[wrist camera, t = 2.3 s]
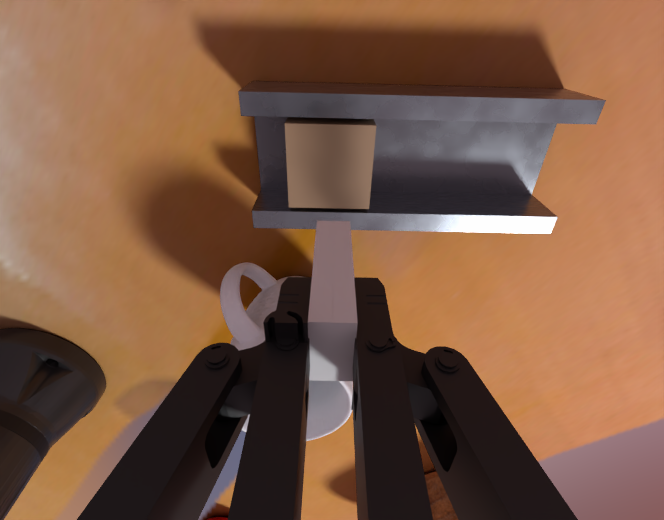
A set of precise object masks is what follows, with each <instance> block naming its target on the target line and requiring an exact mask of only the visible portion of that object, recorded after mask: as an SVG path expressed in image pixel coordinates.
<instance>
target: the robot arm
mask: <svg viewBox="0 0 664 520" xmlns="http://www.w3.org/2000/svg"><path fill="white" fill-rule="evenodd" d="M263 324H264V333H265V341H264V342H263V343H261V344H259V345H257V346H255V347H252V348H248V349H244V350H238V349H237V348H236V347H235V346H234V345H231V344H229V343H216V344H212V345H210V346H208V347H206V348H204V349H203V350H202V351H201V352H200V353H199V354H198V355H197V356H196V357H195V359H194V360H193V361H192V363H191V364H190V365H189V367H188V368H187V370H186V371H185V372H184V374H183V375H182V376H181V378H180V379H179V380H178V382H177V383H176V385H175V386H174V387H173V389H172V390H171V391H170V393H169V394H168V396H167V397H166V398H165V400H164V401H163V402H162V404H161V405H160V406H159V408H158V409H157V411H156V412H155V413H154V415H153V416H152V418H151V419H150V420H149V422H148V423H147V424H146V426H145V427H144V429H143V430H142V431H141V432H140V434H139V435H138V437H137V438H136V439H135V441H134V442H133V444H132V445H131V446H130V448H129V449H128V450H127V452H126V453H125V454H124V456H123V457H122V459H121V460H120V461H119V463H118V464H117V465H116V467H115V468H114V470H113V471H112V472H111V474H110V475H109V477H108V478H107V479H106V480H105V482H104V483H103V485H102V486H101V487H100V489H99V490H98V491H97V493H96V494H95V496H94V497H93V498H92V500H91V501H90V502H89V504H88V505H87V506H86V508H85V509H84V511H83V512H82V513H81V515H80V516H79V517H78V519H77V520H198V518H199V516H200V514H201V512H202V510H203V508H204V506H205V504H206V502H207V500H208V497H209V496H210V493H211V491H212V489H213V487H214V485H215V483H216V481H217V479H218V477H219V475H220V473H221V471H222V469H223V467H224V465H225V463H226V461H227V459H228V456H229V454H230V452H231V450H232V448H233V446H234V444H235V442H236V440H237V438H238V436H239V434H240V432H241V430H242V428H243V426H244V424H245V422H246V419H247V417H248V415H249V414H250V417H249V422H248V426H247V431H246V436H245V440H244V445H243V450H242V454H241V459H240V464H239V469H238V473H237V478H236V483H235V487H234V492H233V497H232V501H231V506H230V511H229V515H228V520H301V507H302V492H303V477H304V462H305V447H306V432H307V417H308V402H309V380H310V381H353V395H352V406H351V410H353V421H354V445H355V468H356V491H357V515H358V520H433V516H432V511H431V506H430V500H429V495H428V490H427V485H426V480H425V475H424V470H423V464H422V459H421V454H420V449H419V444H418V439H417V434H416V428H415V425H416V427H417V429H418V432H419V434H420V436H421V438H422V440H423V443H424V445H425V447H426V449H427V451H428V454H429V456H430V458H431V460H432V462H433V465H434V467H435V469H436V471H437V473H438V476H439V478H440V480H441V482H442V484H443V487H444V489H445V491H446V493H447V495H448V498H449V500H450V502H451V504H452V507H453V509H454V511H455V513H456V515H457V518H458V520H578V519H577V518H576V516H575V515H574V513H573V512H572V511H571V509H570V508H569V506H568V505H567V503H566V502H565V501H564V499H563V498H562V496H561V495H560V493H559V492H558V490H557V489H556V487H555V486H554V485H553V483H552V482H551V480H550V479H549V478H548V476H547V474H546V473H545V472H544V470H543V469H542V467H541V466H540V464H539V463H538V461H537V460H536V459H535V457H534V456H533V454H532V453H531V451H530V450H529V448H528V447H527V446H526V444H525V443H524V441H523V440H522V438H521V437H520V435H519V434H518V432H517V431H516V430H515V428H514V427H513V425H512V424H511V422H510V421H509V419H508V418H507V417H506V415H505V414H504V412H503V411H502V409H501V408H500V406H499V405H498V404H497V402H496V401H495V399H494V398H493V396H492V395H491V393H490V392H489V391H488V389H487V388H486V386H485V385H484V383H483V382H482V380H481V379H480V378H479V376H478V375H477V373H476V372H475V370H474V369H473V367H472V366H471V365H470V363H469V362H468V360H467V359H466V358H465V357H464V356H463V355H462V354H461V353H460V352H458V351H456V350H454V349H452V348H448V347H434V348H432V349H430V350H429V351H428V352H427V353H426V354H425V353H421V352H418V351H414V350H411V349H409V348H406V347H405V346H403V345H402V344H400V343H399V342H398V341H397V339H396V338H395V337H394V334H393V331H392V326H391V320H390V315H389V310H388V305H387V299H386V293H385V288H384V285H383V284H382V283H381V282H380V281H379V279H378V278H354V268H353V254H352V241H351V227H350V221H317V226H316V237H315V248H314V259H313V270H312V277H288V278H287V279H286V280H285V281H284V282H283V283H282V284H281V288H280V293H279V298H278V303H277V308H276V311H273V312H271V313H270V314H269V315H268V316H267V317H266V318H265V320H264V322H263ZM105 388H106V379H105V376H104V373H103V371H102V370H101V368H100V367H99V365H98V364H97V363H96V362H95V361H94V360H93V359H92V358H91V357H90V356H89V355H88V354H87V353H85V352H84V351H83V350H81V349H80V348H78V347H77V346H75V345H73V344H71V343H69V342H68V341H65V340H63V339H61V338H59V337H56V336H53V335H50V334H47V333H44V332H40V331H35V330H30V329H21V328H8V329H0V520H4V518H5V517H6V515H7V514H8V512H9V511H10V509H11V508H12V506H13V505H14V503H15V502H16V500H17V498H18V497H19V495H20V494H21V492H22V491H23V489H24V488H25V486H26V485H27V483H28V482H29V480H30V478H31V477H32V475H33V474H34V472H35V471H36V469H37V468H38V466H39V465H40V463H41V462H42V460H43V459H44V457H45V456H46V454H47V453H48V451H49V450H50V448H51V447H52V446H53V445H54V444H55V443H56V442H57V441H58V440H59V439H60V438H61V437H62V436H63V435H64V434H65V433H67V432H68V431H69V430H70V429H71V428H72V427H73V426H74V425H75V424H76V423H77V422H78V421H79V420H80V419H81V418H83V417H85V416H86V415H87V414H88V413H90V412H91V411H92V410H93V408H94V407H95V406H96V404H97V403H98V401H99V400H100V398H101V396H102V395H103V393H104V391H105Z"/></svg>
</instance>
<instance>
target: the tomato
mask: <svg viewBox="0 0 664 520" xmlns="http://www.w3.org/2000/svg"><path fill="white" fill-rule="evenodd" d="M206 520H228V518H226V517H213V518H209V519H206Z"/></svg>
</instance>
